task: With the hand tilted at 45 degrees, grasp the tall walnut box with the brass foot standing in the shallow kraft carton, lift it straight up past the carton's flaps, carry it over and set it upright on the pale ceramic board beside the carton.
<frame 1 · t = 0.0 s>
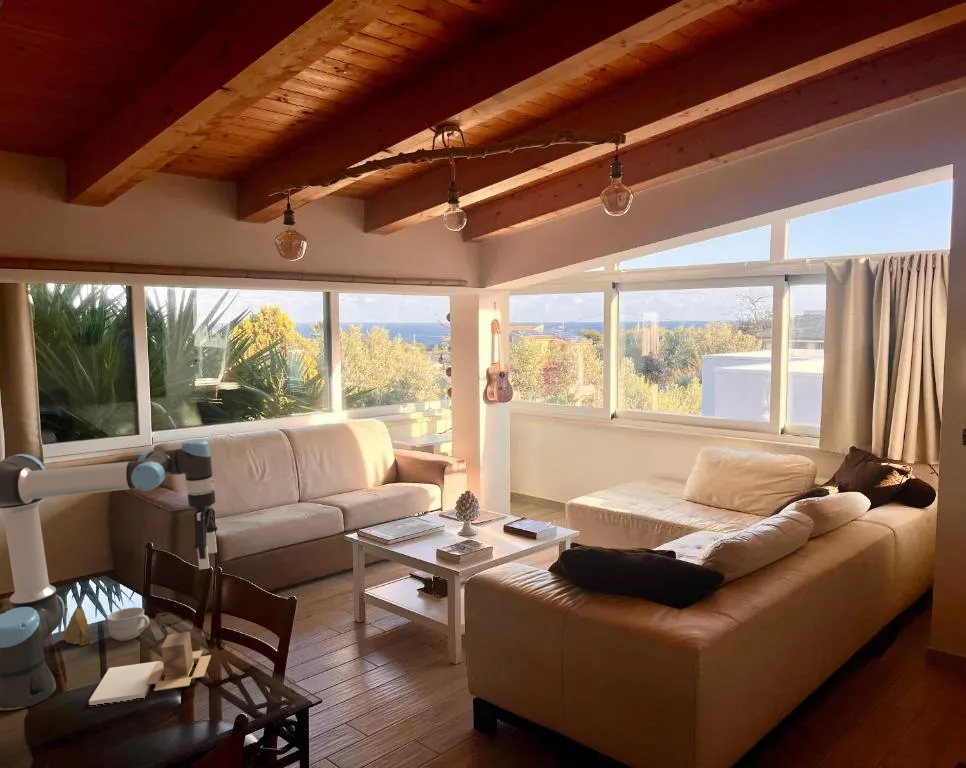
hand: (208, 560, 224), 28 cm above the table, tool pointing down, fingers open, 13 cm apart
carton: (180, 675, 212), on the table
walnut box: (180, 676, 212), resting in carton
teacup: (131, 637, 238), on the table
rock: (77, 642, 237), on the table
board: (126, 685, 208), on the table
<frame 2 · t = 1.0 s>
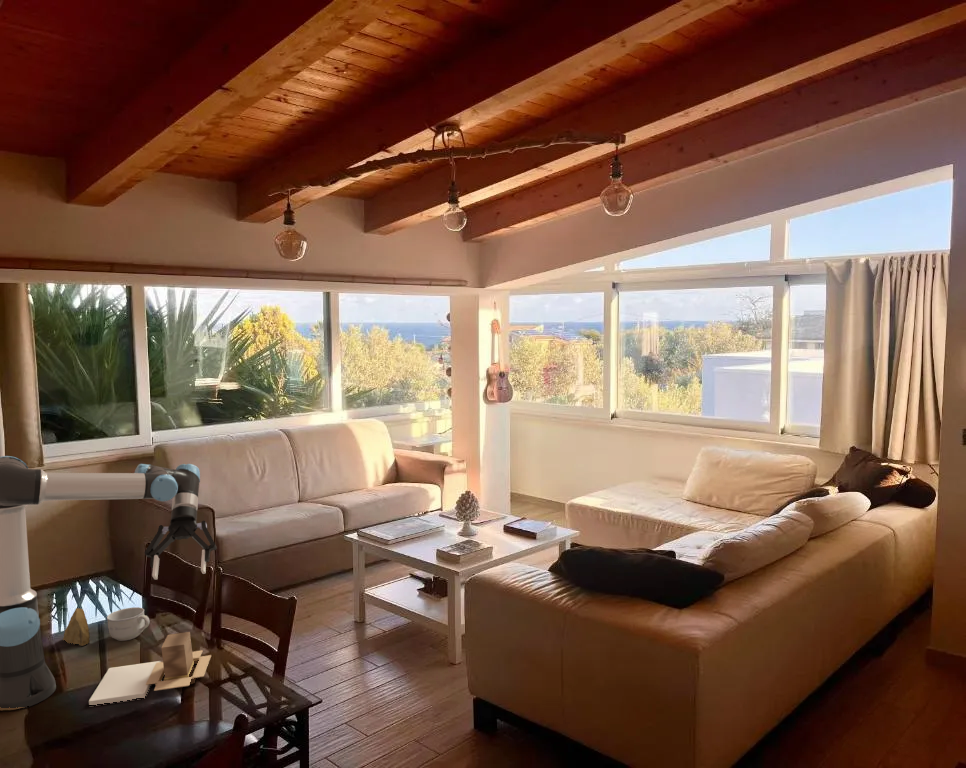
hand: (178, 574, 219), 26 cm above the table, tool tilted 45°, fingers open, 13 cm apart
nothing on the table moved.
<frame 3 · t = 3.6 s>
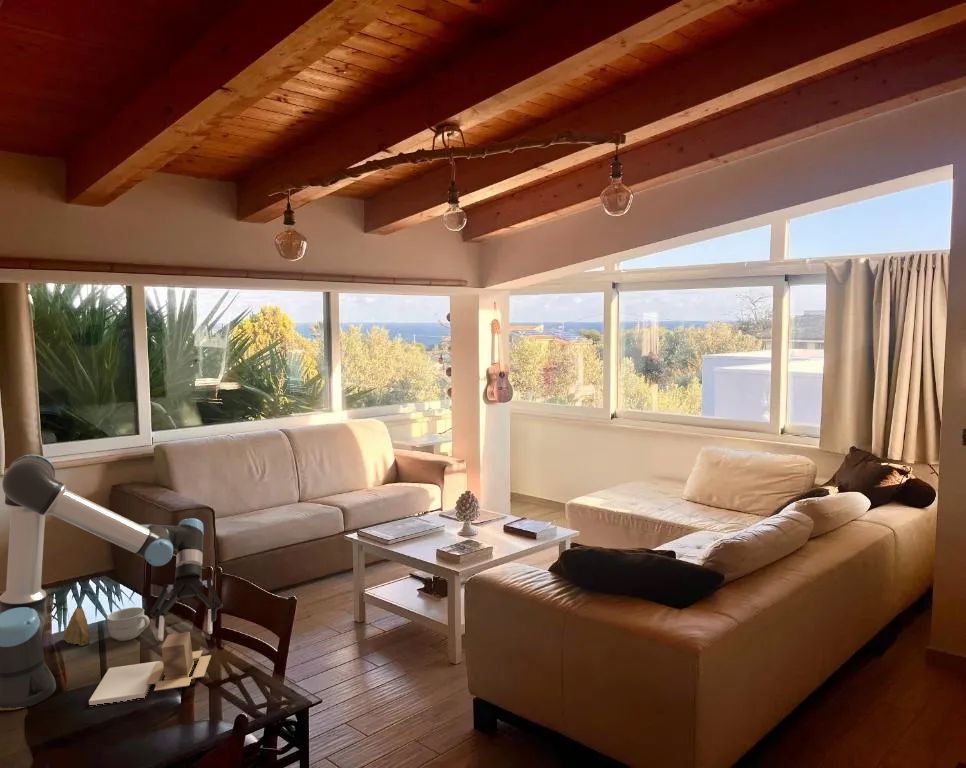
hand: (185, 635, 216), 9 cm above the table, tool tilted 45°, fingers open, 13 cm apart
nothing on the table moved.
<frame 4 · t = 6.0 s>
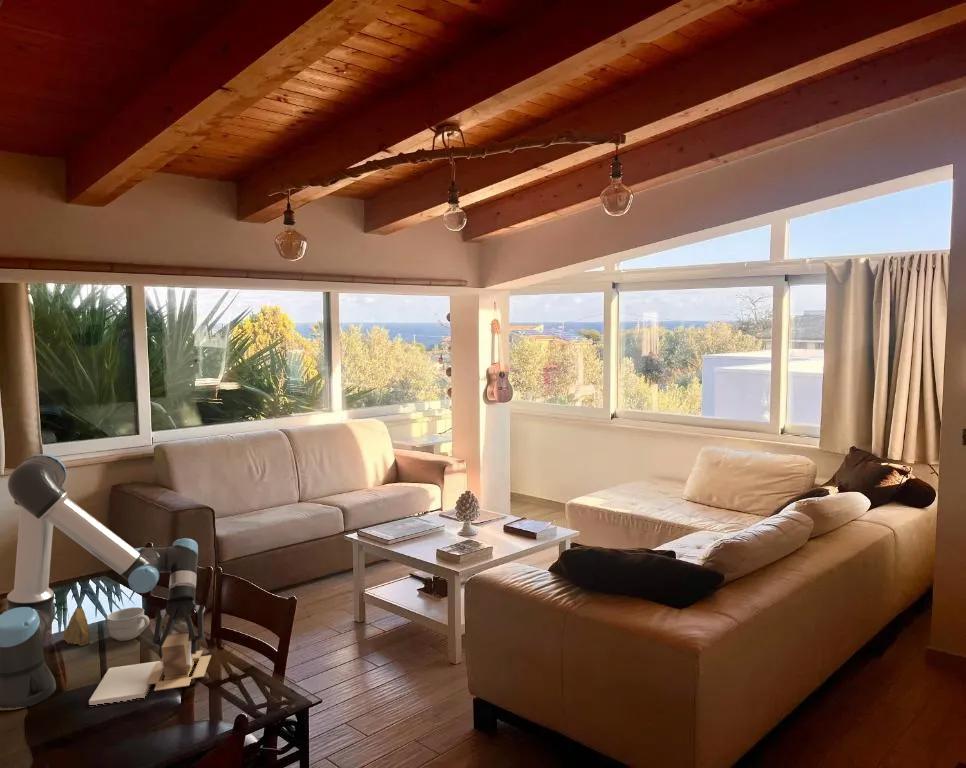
hand: (176, 667, 209), 4 cm above the table, tool tilted 45°, fingers closed on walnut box, 6 cm apart
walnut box: (180, 675, 212), resting in carton, touching gripper
everything else where it was.
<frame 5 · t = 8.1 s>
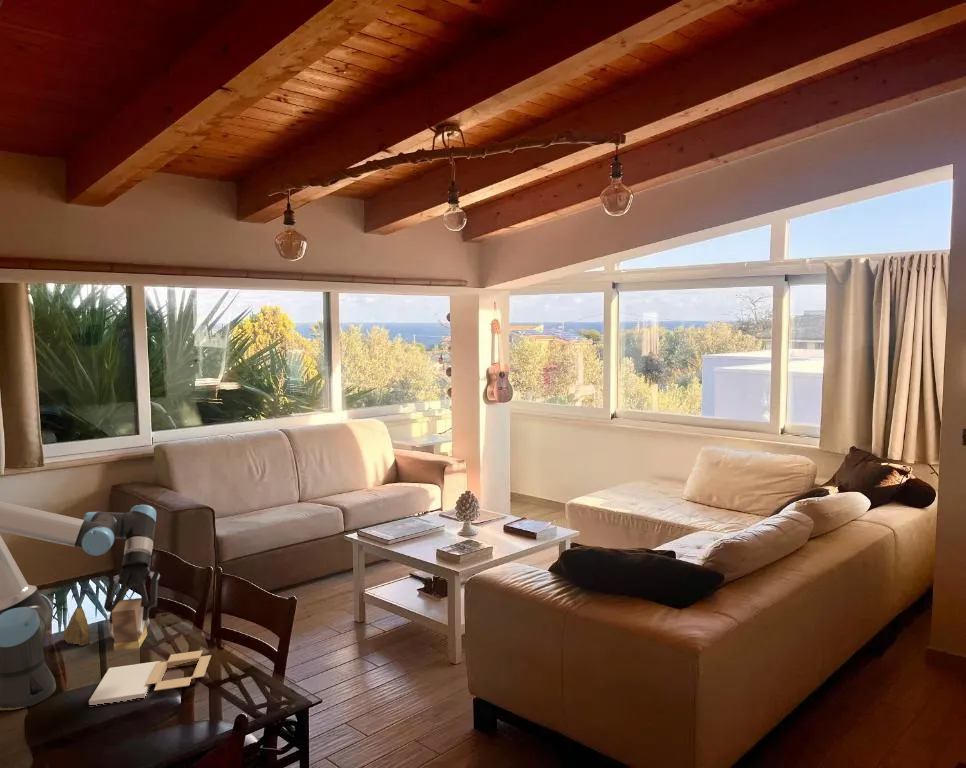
hand: (127, 633, 204), 16 cm above the table, tool tilted 45°, fingers closed on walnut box, 6 cm apart
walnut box: (131, 642, 207), point 12 cm above the table, touching gripper
everything else where it was.
when the fingers open (6 cm above the table, at t = 10.6 s): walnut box stays where it is, resting on board.
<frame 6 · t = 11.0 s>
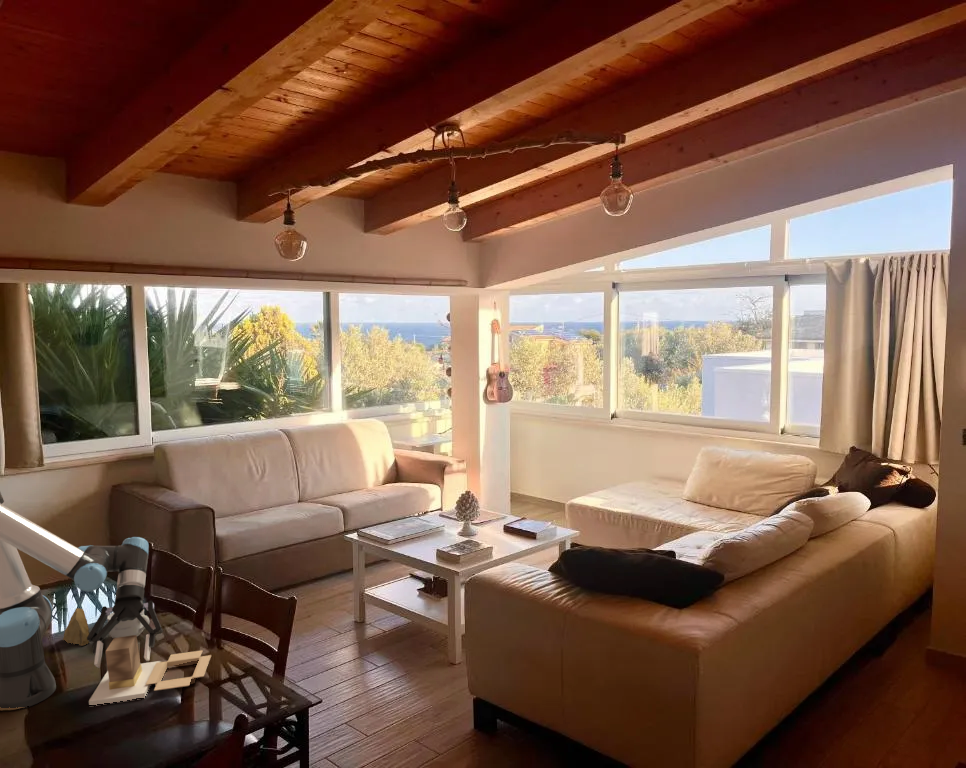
hand: (122, 662, 206), 7 cm above the table, tool tilted 45°, fingers open, 12 cm apart
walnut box: (126, 680, 208), point 1 cm above the table, touching board
everything else where it was.
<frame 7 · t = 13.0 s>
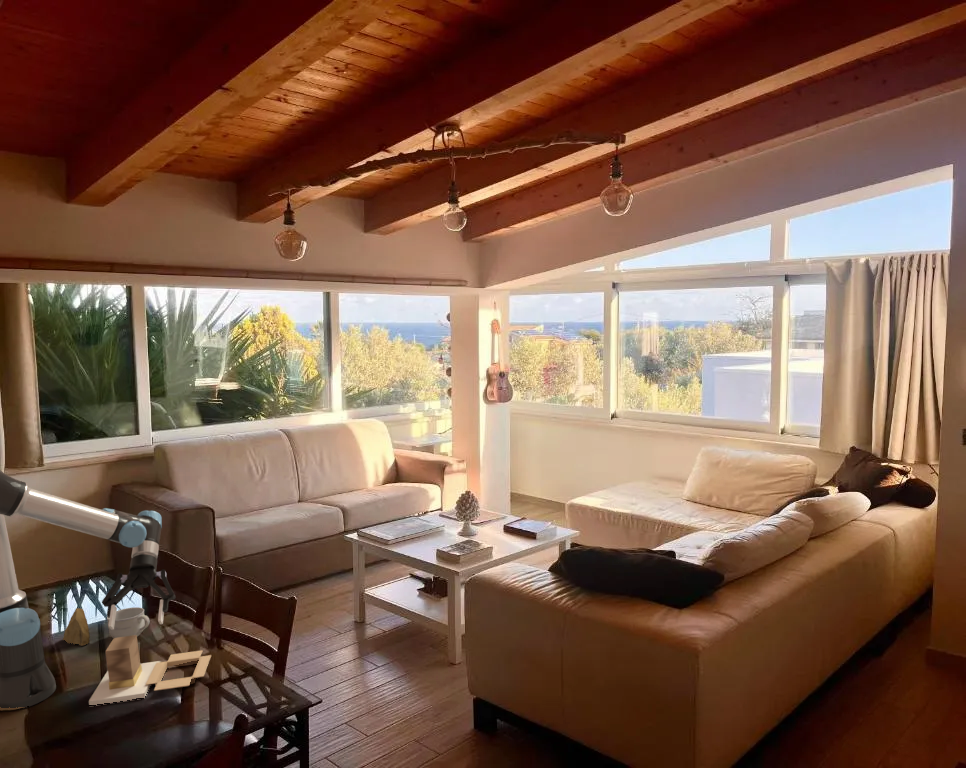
hand: (135, 625, 219), 12 cm above the table, tool tilted 45°, fingers open, 13 cm apart
nothing on the table moved.
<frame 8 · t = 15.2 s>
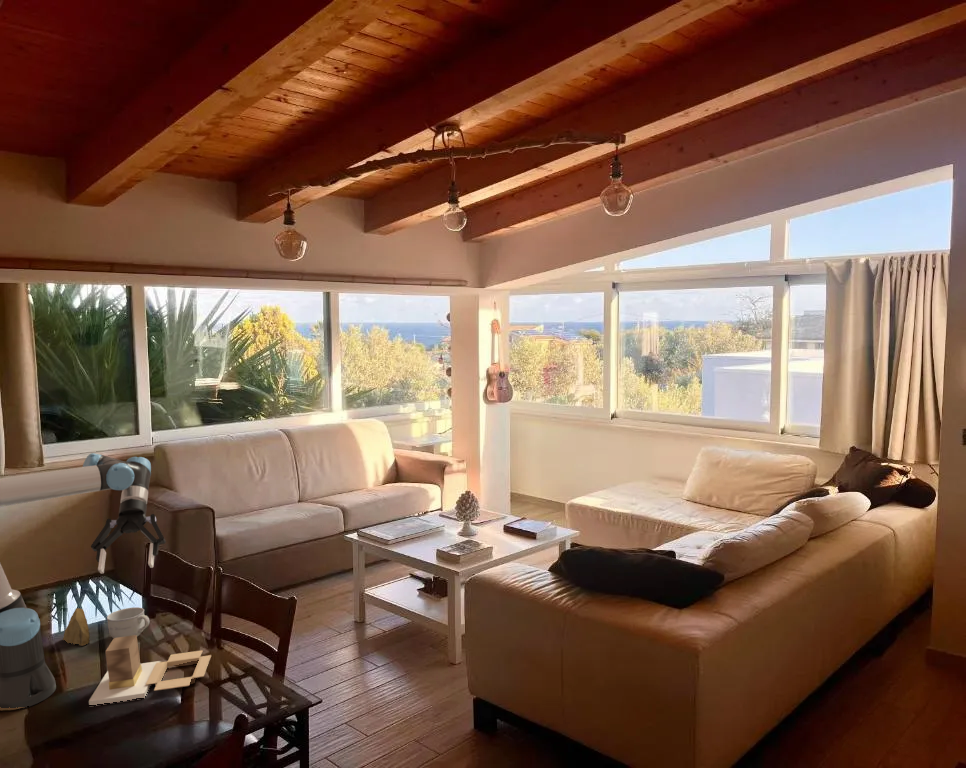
hand: (125, 568, 216), 30 cm above the table, tool tilted 45°, fingers open, 13 cm apart
nothing on the table moved.
at the end: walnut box inside the target area on the board (0.1 cm from its centre), point 1.5 cm above the board's base; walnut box tilted 0°; the gripper is holding nothing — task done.
